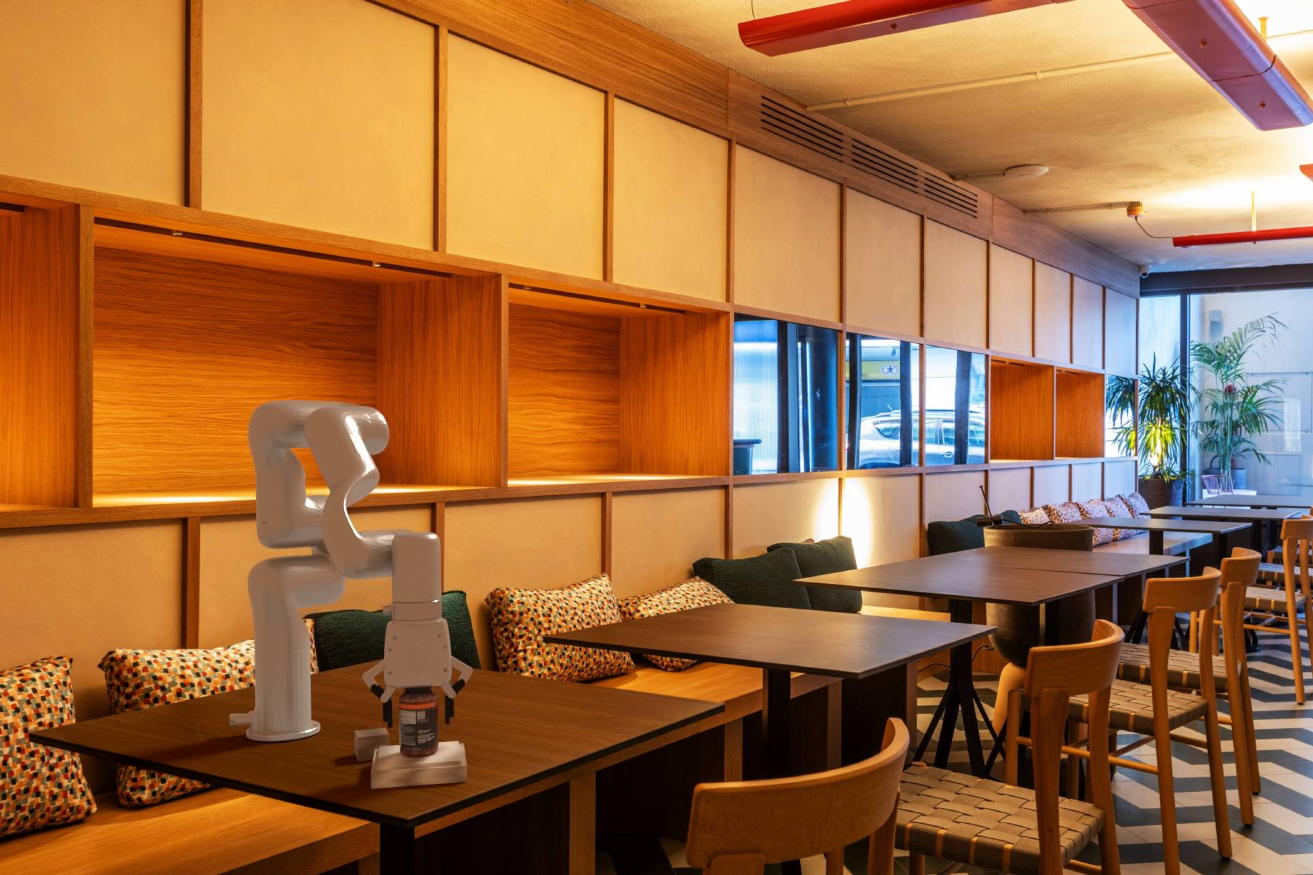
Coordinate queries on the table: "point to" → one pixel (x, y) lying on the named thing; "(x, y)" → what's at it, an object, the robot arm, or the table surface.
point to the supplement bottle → (418, 722)
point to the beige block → (369, 742)
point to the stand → (418, 766)
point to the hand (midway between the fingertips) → (418, 723)
